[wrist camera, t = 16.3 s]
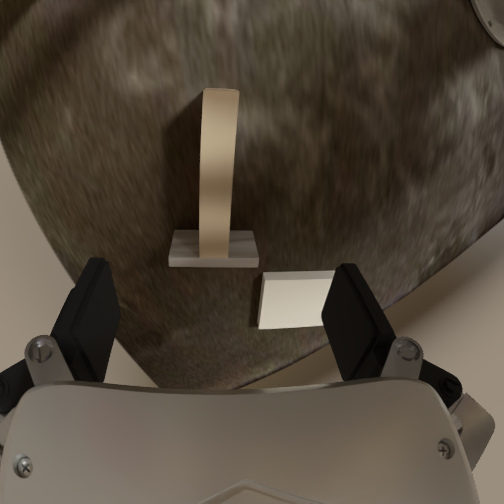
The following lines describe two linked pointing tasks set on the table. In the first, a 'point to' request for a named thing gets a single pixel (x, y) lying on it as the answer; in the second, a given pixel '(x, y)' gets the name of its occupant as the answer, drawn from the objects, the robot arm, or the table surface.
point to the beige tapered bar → (215, 194)
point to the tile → (293, 298)
